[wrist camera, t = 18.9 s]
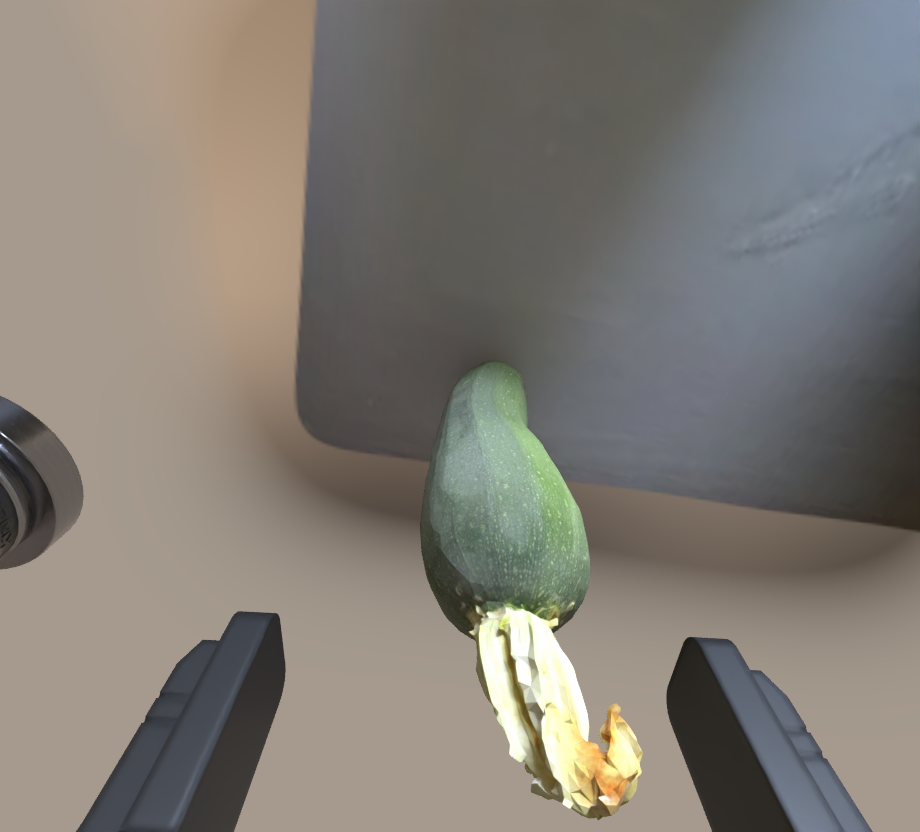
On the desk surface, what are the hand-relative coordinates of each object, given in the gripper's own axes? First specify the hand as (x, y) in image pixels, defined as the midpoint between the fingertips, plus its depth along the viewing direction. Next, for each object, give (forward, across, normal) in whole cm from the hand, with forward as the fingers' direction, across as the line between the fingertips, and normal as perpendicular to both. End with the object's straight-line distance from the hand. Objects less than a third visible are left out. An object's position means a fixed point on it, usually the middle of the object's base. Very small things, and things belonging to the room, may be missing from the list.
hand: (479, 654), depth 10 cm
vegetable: (+17, -1, 0) cm, 17 cm away
